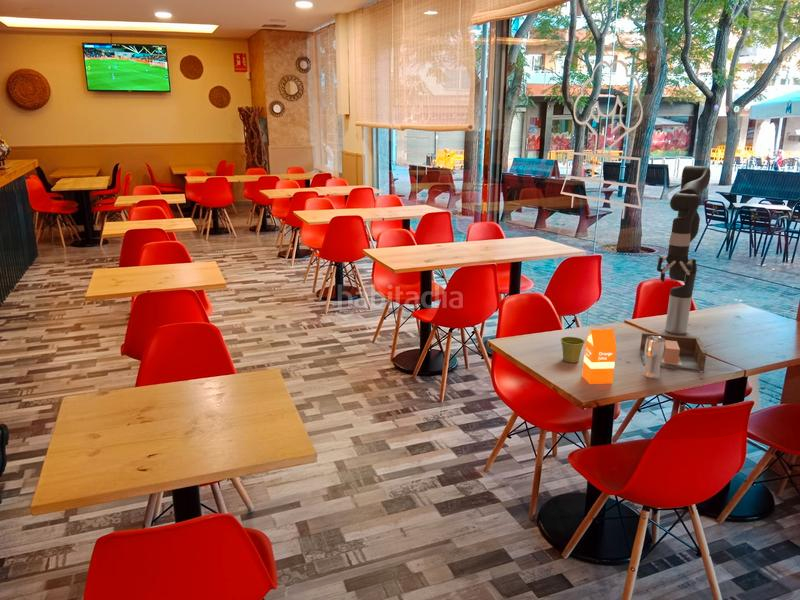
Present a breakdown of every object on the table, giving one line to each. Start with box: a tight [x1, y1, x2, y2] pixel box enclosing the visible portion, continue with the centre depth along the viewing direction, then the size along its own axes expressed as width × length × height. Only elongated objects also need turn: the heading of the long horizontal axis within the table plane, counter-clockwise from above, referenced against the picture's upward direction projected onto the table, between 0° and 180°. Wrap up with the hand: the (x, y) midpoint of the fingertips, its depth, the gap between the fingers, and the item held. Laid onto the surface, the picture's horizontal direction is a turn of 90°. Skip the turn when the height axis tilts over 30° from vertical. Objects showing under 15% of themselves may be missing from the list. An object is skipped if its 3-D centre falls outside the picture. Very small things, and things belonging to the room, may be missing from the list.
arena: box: [639, 331, 707, 373], centre depth 249 cm, size 18×22×8 cm
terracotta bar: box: [663, 340, 680, 364], centre depth 248 cm, size 10×5×6 cm, turn 163°
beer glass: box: [642, 336, 665, 380], centre depth 233 cm, size 7×7×15 cm
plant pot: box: [560, 336, 586, 364], centre depth 249 cm, size 9×9×9 cm
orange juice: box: [581, 328, 617, 385], centre depth 229 cm, size 8×9×20 cm
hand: (674, 282), depth 252 cm, fingers open, 8 cm apart
